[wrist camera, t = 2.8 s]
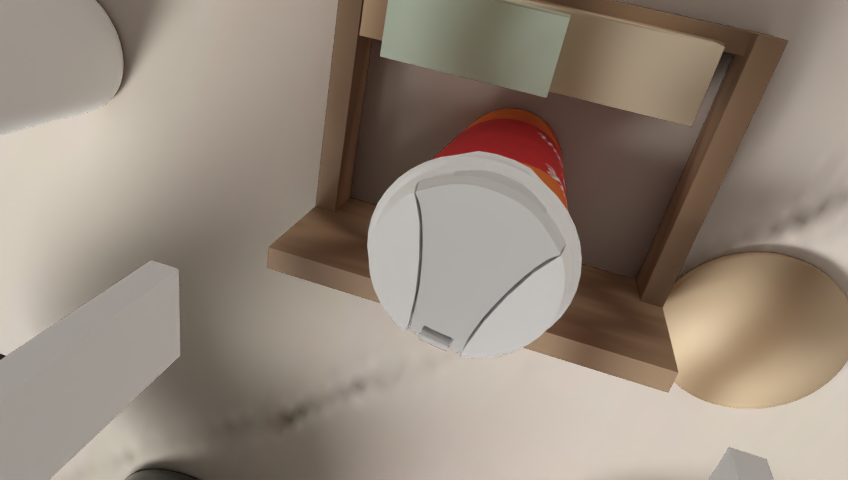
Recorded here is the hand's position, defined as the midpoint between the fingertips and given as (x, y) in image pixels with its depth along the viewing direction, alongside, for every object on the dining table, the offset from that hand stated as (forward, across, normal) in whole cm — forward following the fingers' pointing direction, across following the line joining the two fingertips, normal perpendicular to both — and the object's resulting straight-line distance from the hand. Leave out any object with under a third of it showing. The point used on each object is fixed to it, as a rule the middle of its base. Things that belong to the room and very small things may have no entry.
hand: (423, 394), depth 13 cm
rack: (+20, 0, +1) cm, 20 cm away
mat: (+20, +15, -7) cm, 26 cm away
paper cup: (+20, 0, 0) cm, 21 cm away
